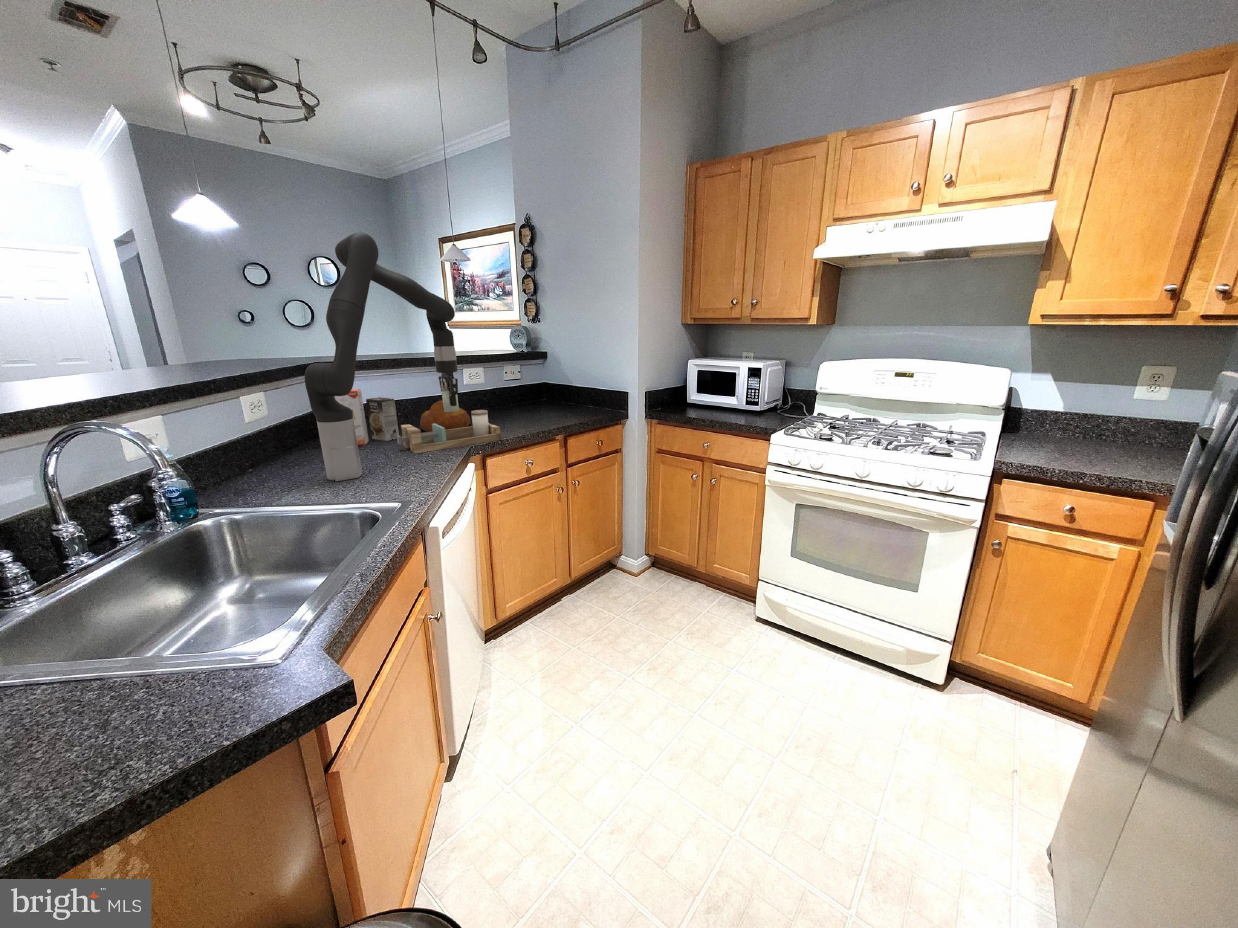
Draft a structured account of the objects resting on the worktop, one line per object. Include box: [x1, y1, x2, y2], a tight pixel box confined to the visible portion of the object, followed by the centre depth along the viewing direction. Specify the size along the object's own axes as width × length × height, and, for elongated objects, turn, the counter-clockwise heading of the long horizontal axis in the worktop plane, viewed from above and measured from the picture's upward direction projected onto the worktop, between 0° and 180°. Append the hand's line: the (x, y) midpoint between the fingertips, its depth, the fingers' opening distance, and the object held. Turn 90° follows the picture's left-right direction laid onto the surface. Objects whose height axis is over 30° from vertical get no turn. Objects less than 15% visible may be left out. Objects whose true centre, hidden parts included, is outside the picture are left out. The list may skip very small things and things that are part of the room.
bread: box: [419, 399, 471, 432], centre depth 211 cm, size 21×33×12 cm, turn 3°
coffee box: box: [365, 397, 400, 442], centre depth 191 cm, size 9×6×16 cm
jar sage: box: [440, 387, 460, 412], centre depth 180 cm, size 6×6×9 cm
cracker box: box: [334, 388, 370, 446], centre depth 181 cm, size 14×6×21 cm, turn 105°
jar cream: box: [470, 409, 489, 437], centre depth 189 cm, size 6×6×11 cm
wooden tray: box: [400, 422, 502, 454], centre depth 183 cm, size 14×33×8 cm, turn 128°
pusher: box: [396, 424, 446, 446], centre depth 176 cm, size 11×15×7 cm
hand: (450, 404), depth 181 cm, fingers closed on jar sage, 5 cm apart
